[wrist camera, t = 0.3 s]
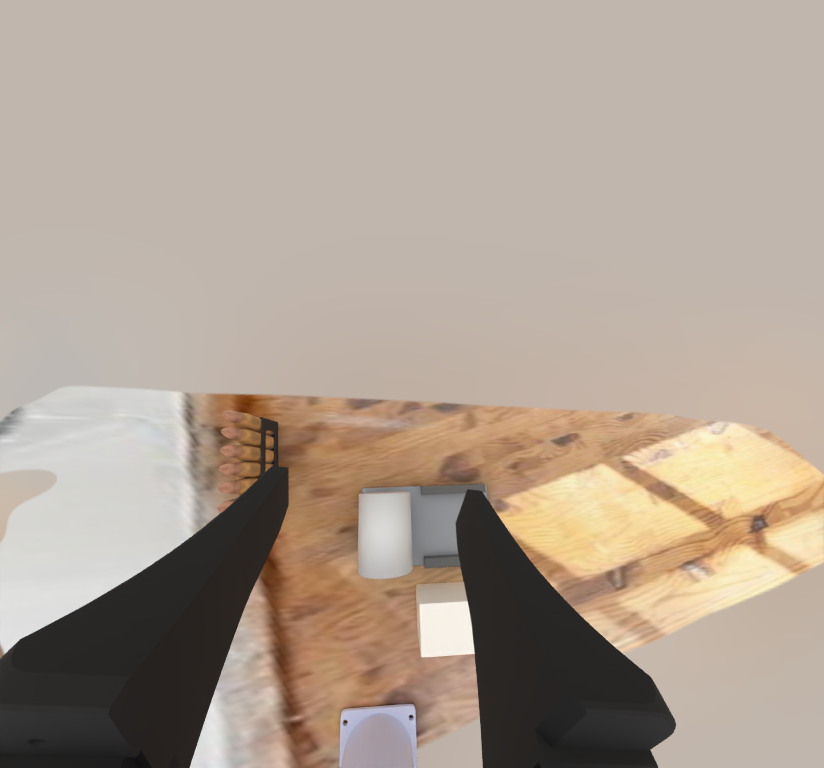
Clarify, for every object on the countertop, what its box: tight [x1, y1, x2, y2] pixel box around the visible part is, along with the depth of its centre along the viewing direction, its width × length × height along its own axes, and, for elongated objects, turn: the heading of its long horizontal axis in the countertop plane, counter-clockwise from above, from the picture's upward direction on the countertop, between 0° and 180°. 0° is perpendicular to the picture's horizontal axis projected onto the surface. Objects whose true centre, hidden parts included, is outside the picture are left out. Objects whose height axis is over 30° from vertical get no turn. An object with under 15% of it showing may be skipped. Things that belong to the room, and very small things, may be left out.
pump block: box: [416, 582, 475, 658], centre depth 34 cm, size 4×7×6 cm, turn 92°
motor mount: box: [358, 484, 488, 579], centre depth 36 cm, size 9×16×7 cm, turn 92°
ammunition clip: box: [217, 410, 278, 512], centre depth 34 cm, size 11×2×12 cm, turn 7°
